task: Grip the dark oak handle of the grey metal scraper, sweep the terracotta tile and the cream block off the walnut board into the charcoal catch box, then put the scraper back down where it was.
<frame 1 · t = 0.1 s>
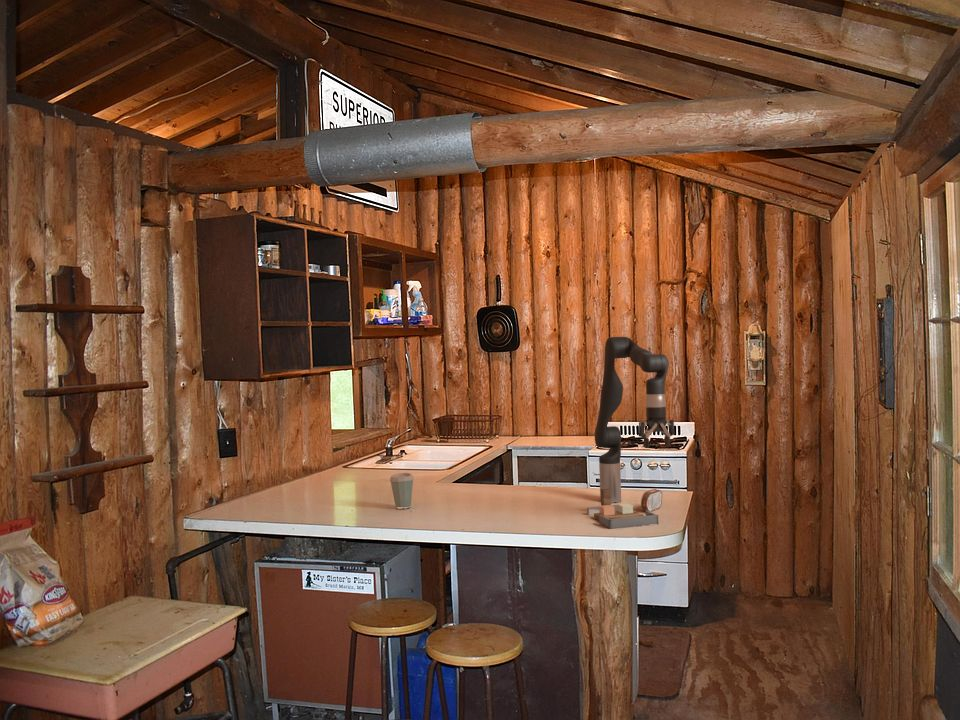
hand: (657, 447, 298), 29 cm above the counter, tool pointing down, fingers open, 8 cm apart
cream block: (625, 512, 309), point 2 cm above the counter, touching walnut board
tin: (652, 510, 321), on the counter
walnut board: (618, 519, 306), on the counter
catch box: (629, 524, 297), on the counter
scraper: (606, 513, 317), on the counter
terracotta tile: (607, 513, 307), point 2 cm above the counter, touching walnut board
disposable coffee cup: (402, 508, 340), on the counter
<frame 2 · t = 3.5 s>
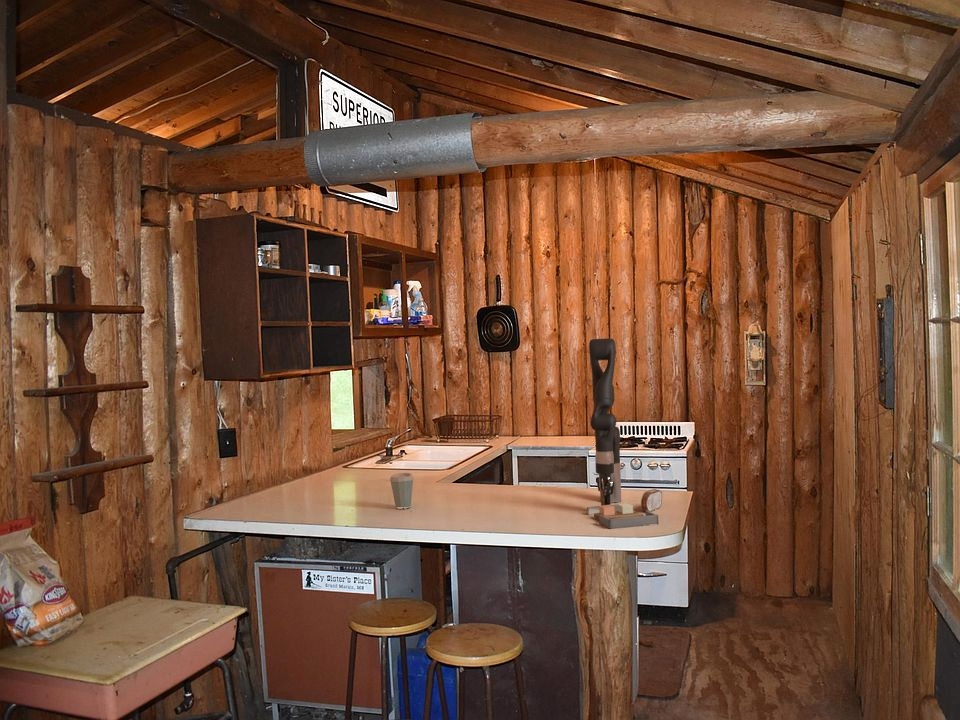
hand: (605, 503, 317), 4 cm above the counter, tool pointing down, fingers closed on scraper, 3 cm apart
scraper: (606, 513, 317), on the counter, touching gripper
everything else where it was.
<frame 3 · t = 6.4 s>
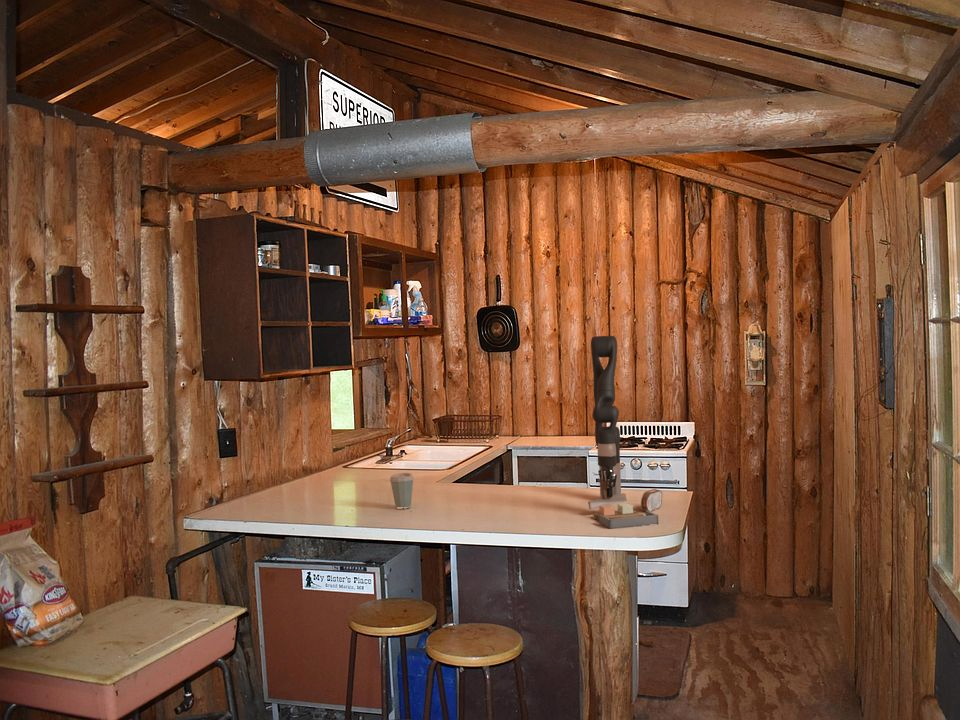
hand: (608, 496, 315), 8 cm above the counter, tool pointing down, fingers closed on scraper, 3 cm apart
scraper: (608, 504, 315), point 4 cm above the counter, tilted 8°, touching gripper
everything else where it was.
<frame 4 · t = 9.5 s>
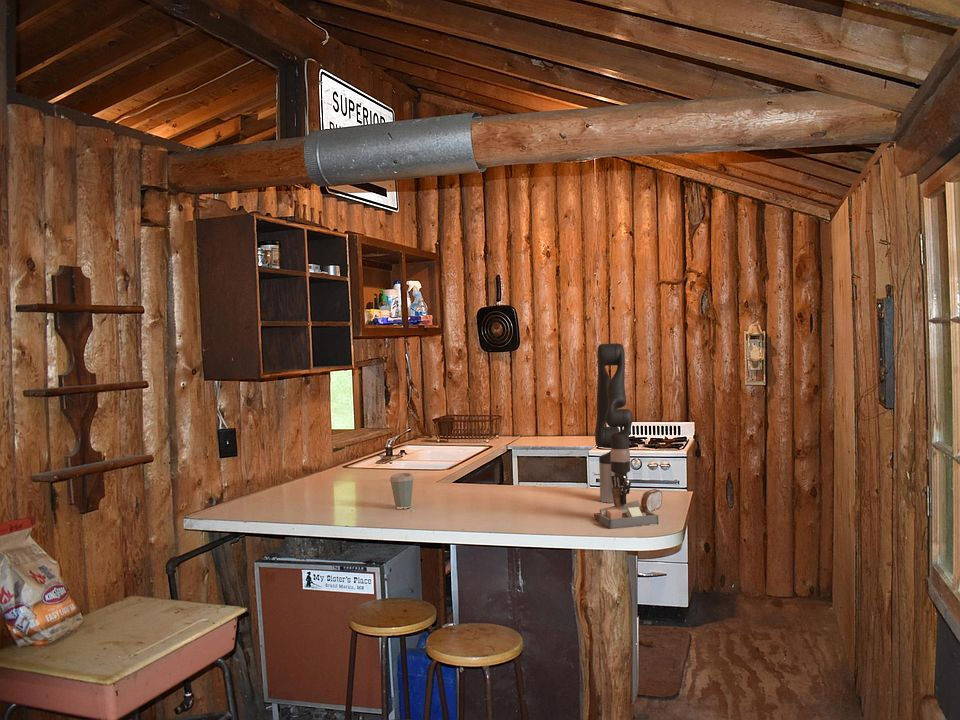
hand: (621, 503, 302), 7 cm above the counter, tool pointing down, fingers closed on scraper, 3 cm apart
cream block: (633, 516, 301), point 2 cm above the counter, tilted 37°, touching catch box
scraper: (620, 512, 302), point 3 cm above the counter, tilted 8°, touching gripper
terracotta tile: (614, 518, 298), point 2 cm above the counter
everything else where it was.
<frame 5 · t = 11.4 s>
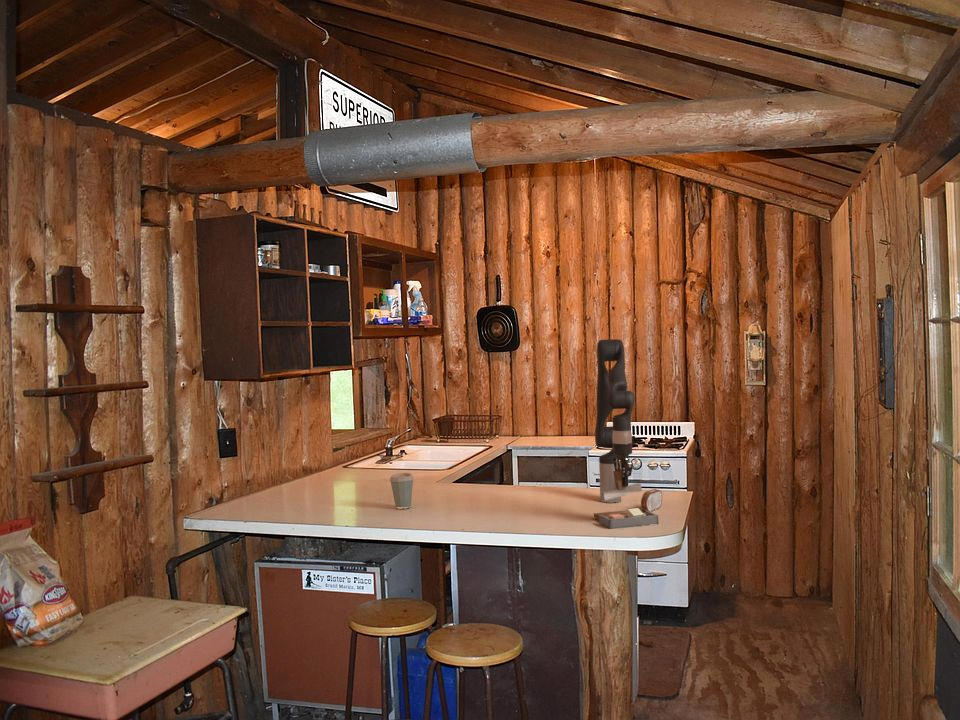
hand: (623, 485, 300), 14 cm above the counter, tool pointing down, fingers closed on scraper, 3 cm apart
cream block: (634, 518, 300), point 1 cm above the counter, tilted 22°, touching catch box, walnut board
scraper: (622, 495, 300), point 10 cm above the counter, tilted 9°, touching gripper
terracotta tile: (616, 523, 297), resting on catch box
everything else where it was.
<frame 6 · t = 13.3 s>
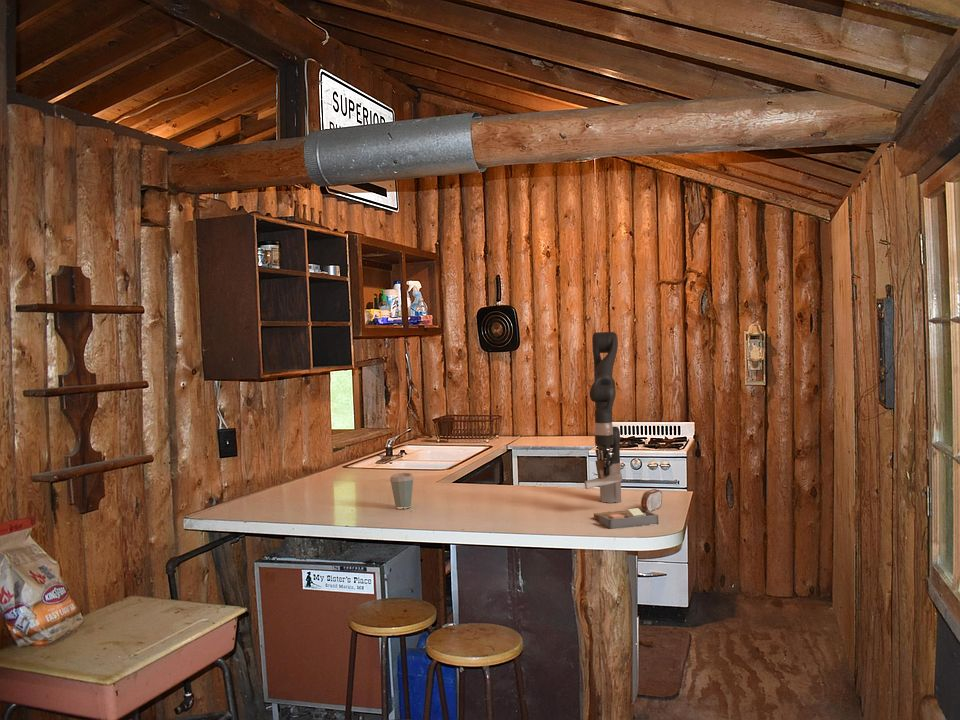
hand: (605, 474, 317), 16 cm above the counter, tool pointing down, fingers closed on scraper, 3 cm apart
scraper: (604, 484, 317), point 12 cm above the counter, tilted 9°, touching gripper
everything else where it was.
when the fingers open (6 cm above the counter, at t = 15.3 s): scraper drops 2 cm, on the counter.
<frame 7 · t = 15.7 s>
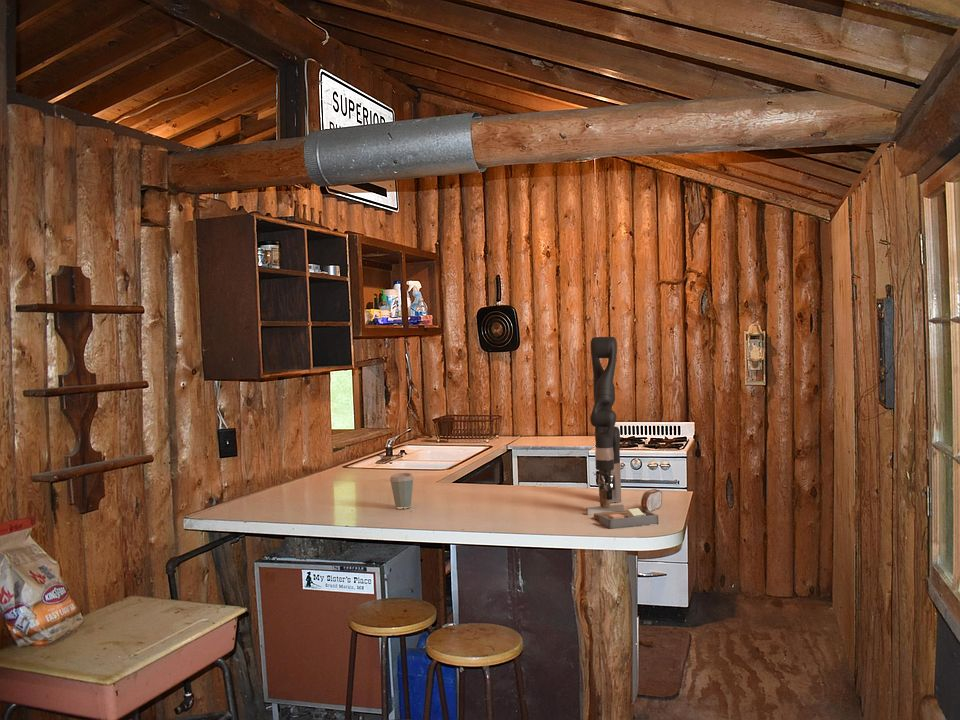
hand: (605, 498, 317), 6 cm above the counter, tool pointing down, fingers open, 7 cm apart
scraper: (605, 513, 317), on the counter
everything else where it was.
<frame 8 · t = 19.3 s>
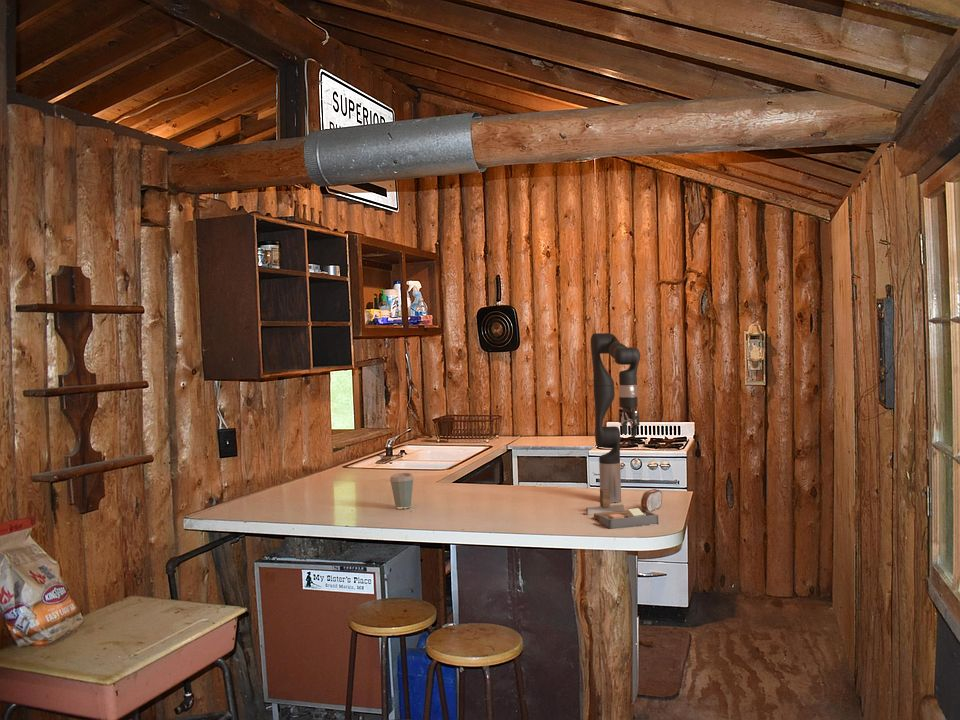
hand: (629, 435, 317), 32 cm above the counter, tool pointing down, fingers open, 8 cm apart
nothing on the counter moved.
at the end: terracotta tile inside the target area (5.0 cm from its centre), resting on catch box; cream block inside the target area (5.1 cm from its centre), point 1.3 cm above the counter; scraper inside the target area (0.4 cm from its centre), on the counter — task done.
